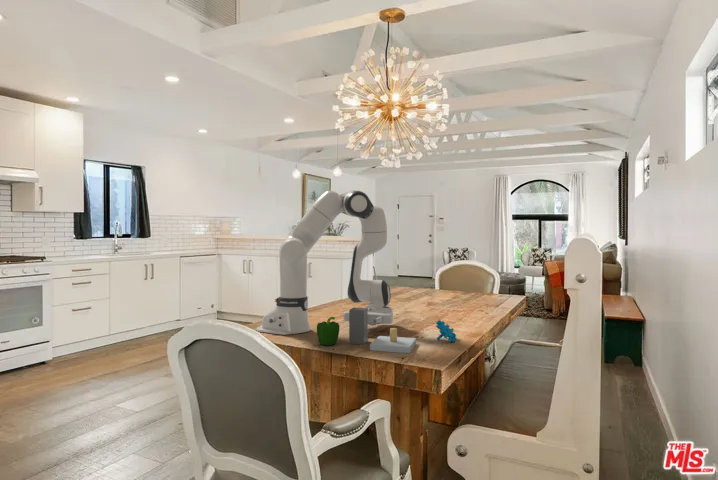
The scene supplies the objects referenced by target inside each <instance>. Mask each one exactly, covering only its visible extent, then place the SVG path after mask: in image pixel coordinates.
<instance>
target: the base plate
mask: <svg viewBox="0 0 718 480" xmlns="http://www.w3.org/2000/svg"><path fill="white" fill-rule="evenodd" d="M416 344H417V338H416V337H404V336H402V337H401V336H398V328H396V327H390V328H389V336H385V335H379V336H377V337H376V338H375V339H374V340H373V341H372V342H371V343H370V344H369V351H372V352H373V351H374V352H375V351H377V352H387V353H389V352H390V353H401V354H402V353H403V354H410V353H411V352H412V350H413V349H414V347H415V346H416Z"/></svg>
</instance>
